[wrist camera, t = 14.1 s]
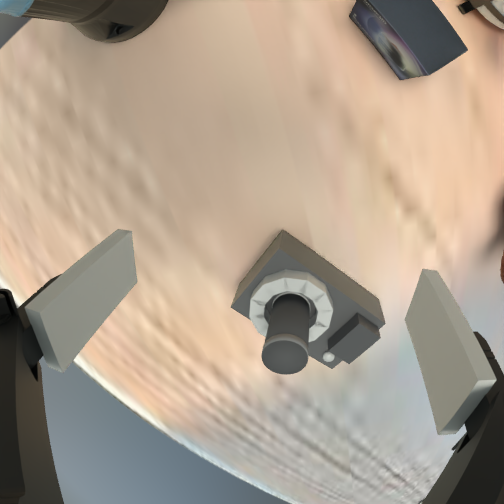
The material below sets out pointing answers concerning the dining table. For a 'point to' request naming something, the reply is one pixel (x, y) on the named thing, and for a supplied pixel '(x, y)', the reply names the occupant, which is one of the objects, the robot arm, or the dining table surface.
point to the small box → (409, 35)
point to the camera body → (312, 300)
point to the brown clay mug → (502, 268)
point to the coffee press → (487, 10)
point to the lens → (287, 334)
